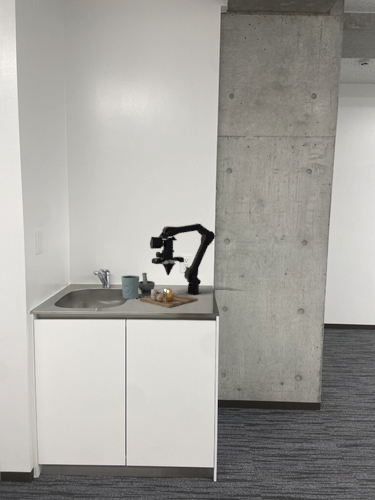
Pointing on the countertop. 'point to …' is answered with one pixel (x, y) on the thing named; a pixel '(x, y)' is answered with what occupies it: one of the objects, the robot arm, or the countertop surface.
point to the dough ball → (159, 297)
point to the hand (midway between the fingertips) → (168, 275)
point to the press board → (175, 301)
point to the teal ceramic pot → (130, 286)
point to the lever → (167, 294)
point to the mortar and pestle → (146, 285)
